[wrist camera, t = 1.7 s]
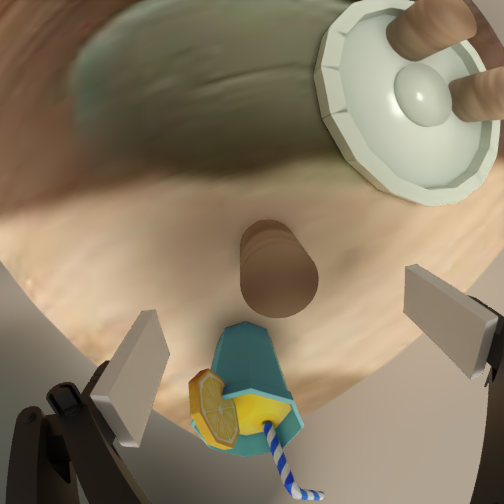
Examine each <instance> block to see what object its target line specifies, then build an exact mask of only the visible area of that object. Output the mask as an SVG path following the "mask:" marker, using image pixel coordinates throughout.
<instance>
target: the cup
mask: <svg viewBox="0 0 504 504" xmlns="http://www.w3.org/2000/svg"><path fill="white" fill-rule="evenodd" d="M189 399H190V415H191V416H192V418H193V420H192V423H191V426H192V427H193V428H194V429H195V431H196V432H197V433H198V434H199V436H200V437H201V438H202V439H203V441H204V442H205V443H206V444H207V445H208V447H209V448H211V449H215V450H218V451H223V452H226V453H230V454H235V455H239V456H243V457H249V456H254V455H259V454H263V453H268V452H272V455H273V458H274V460H275V463H276V466H277V468H278V471H279V474H280V476H281V479H282V481H283V484H284V486H285V488H286V489H287V491H288V492H289V493H290V494H291V495H292V497H293V498H294V499H304V500H305V499H306V500H322V499H323V498H324V493H323V492H321V491H313V490H306V489H301V488H299V486H298V485H297V484H296V483H295V480H294V478H293V475H292V473H291V470H290V468H289V465H288V463H287V460H286V458H285V455H284V453H283V450H282V449H283V448H284V447H285V446H286V445H287V444H288V443H289V442H290V441H291V440H292V439H293V438H294V437H295V436H296V434H297V433H298V432H299V431H300V430H301V429H302V428H303V427H304V424H303V421H302V419H301V416H300V414H299V412H298V409H297V407H296V405H295V402H294V400H293V397H292V395H291V393H290V391H288V389H287V386H286V383H285V380H284V377H283V374H282V371H281V368H280V365H279V362H278V359H277V356H276V354H275V351H274V348H273V345H272V342H271V340H270V337H269V335H268V332H267V330H266V329H264V328H262V327H259V326H257V325H254V324H251V323H249V322H243V323H240V324H237V325H234V326H231V327H227V328H225V330H224V332H223V334H222V336H221V338H220V340H219V342H218V344H217V347H216V351H215V355H214V358H213V362H212V365H211V369H205V370H202V371H200V372H199V373H198V374H197V375H196V376H195V377H194V378H193V379H191V380H190V381H189Z"/></svg>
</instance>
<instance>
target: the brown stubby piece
mask: <svg viewBox="0 0 504 504" xmlns="http://www.w3.org/2000/svg"><path fill="white" fill-rule="evenodd" d="M240 286H241V292H242V295H243V297H244V299H245V301H246V303H247V304H248V305H249V306H250V307H251V308H252V309H253V310H254V311H256V312H257V313H259V314H261V315H264V316H267V317H271V318H283V317H288V316H291V315H294V314H296V313H298V312H300V311H301V310H303V309H304V308H305V307H306V306H307V305H308V304H309V303H310V302H311V301H312V299H313V297H314V296H315V293H316V291H317V287H318V272H317V268H316V266H315V264H314V262H313V261H312V259H311V258H310V256H309V255H308V254H307V252H306V251H305V250H304V248H303V247H302V246H301V244H300V243H299V242H298V240H297V239H296V238H295V236H294V235H293V234H292V232H291V231H290V230H289V229H288V228H287V227H286V226H285V225H284V224H282V223H280V222H278V221H274V220H263V221H259V222H257V223H255V224H253V225H252V226H250V227H249V228H248V229H247V230H246V232H245V233H244V235H243V237H242V240H241V247H240Z"/></svg>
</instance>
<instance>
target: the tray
mask: <svg viewBox="0 0 504 504" xmlns="http://www.w3.org/2000/svg"><path fill="white" fill-rule="evenodd" d="M414 3H415V2H413V1H408V0H363V1H359V2H355V3H352V4H351V5H350V6H349V7H348V8H347V9H346V10H345V11H344V12H343V13H342V14H341V15H340V17H339V18H338V19H337V20H336V21H335V22H334V23H333V24H332V25H331V26H330V27H329V28H328V30H327V31H326V33H325V34H324V36H323V37H322V39H321V44H320V48H319V53H318V57H317V61H316V66H315V70H314V74H313V76H314V81H315V86H316V91H317V96H318V101H319V107H320V112H321V118H322V120H323V122H324V124H325V125H326V127H327V129H328V130H329V132H330V134H331V136H332V137H333V139H334V141H335V143H336V144H337V146H338V148H339V150H340V151H341V153H342V155H343V157H344V159H345V160H346V161H347V162H348V163H349V164H350V165H351V166H352V167H353V168H355V169H356V170H357V171H358V172H359V173H360V174H361V175H362V176H364V177H365V178H366V179H367V180H368V181H369V182H370V183H371V184H372V185H373V186H374V187H376V188H377V189H378V190H380V191H383V192H386V193H388V194H391V195H394V196H397V197H399V198H402V199H405V200H407V201H410V202H412V203H416V204H420V205H423V206H427V207H429V206H437V205H444V204H452V203H459V202H461V201H462V200H463V199H464V198H466V197H467V196H468V195H470V194H471V193H472V192H474V191H475V190H476V189H477V188H479V187H480V186H481V185H482V184H483V183H484V181H485V179H486V177H487V175H488V173H489V171H490V169H491V167H492V165H493V163H494V161H495V159H496V157H497V150H498V142H499V133H500V120H492V121H479V122H463V121H461V120H460V119H459V118H458V117H457V116H456V115H455V114H454V113H453V111H452V98H451V93H450V90H449V88H448V85H449V83H450V82H451V81H452V80H455V79H458V78H462V77H465V76H469V75H472V74H476V73H480V72H483V71H486V69H485V67H484V65H483V63H482V61H481V59H480V57H479V55H478V53H477V52H476V50H475V49H474V48H473V47H472V45H471V44H470V43H469V42H468V41H467V40H464V41H462V42H459V43H457V44H455V45H452V46H450V47H448V48H446V49H444V50H441V51H439V52H437V53H435V54H433V55H431V56H429V57H427V58H425V59H423V60H420V61H417V62H413V61H409V60H406V59H404V58H402V57H401V56H400V55H398V54H397V53H396V52H395V51H394V50H393V49H392V47H391V46H390V44H389V42H388V40H387V37H386V27H387V25H388V24H389V23H390V22H391V21H393V20H394V19H395V18H396V17H397V16H399V15H400V14H401V13H402V12H404V11H405V10H406V9H407V8H409V7H410V6H411V5H412V4H414ZM323 118H324V119H323Z"/></svg>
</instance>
